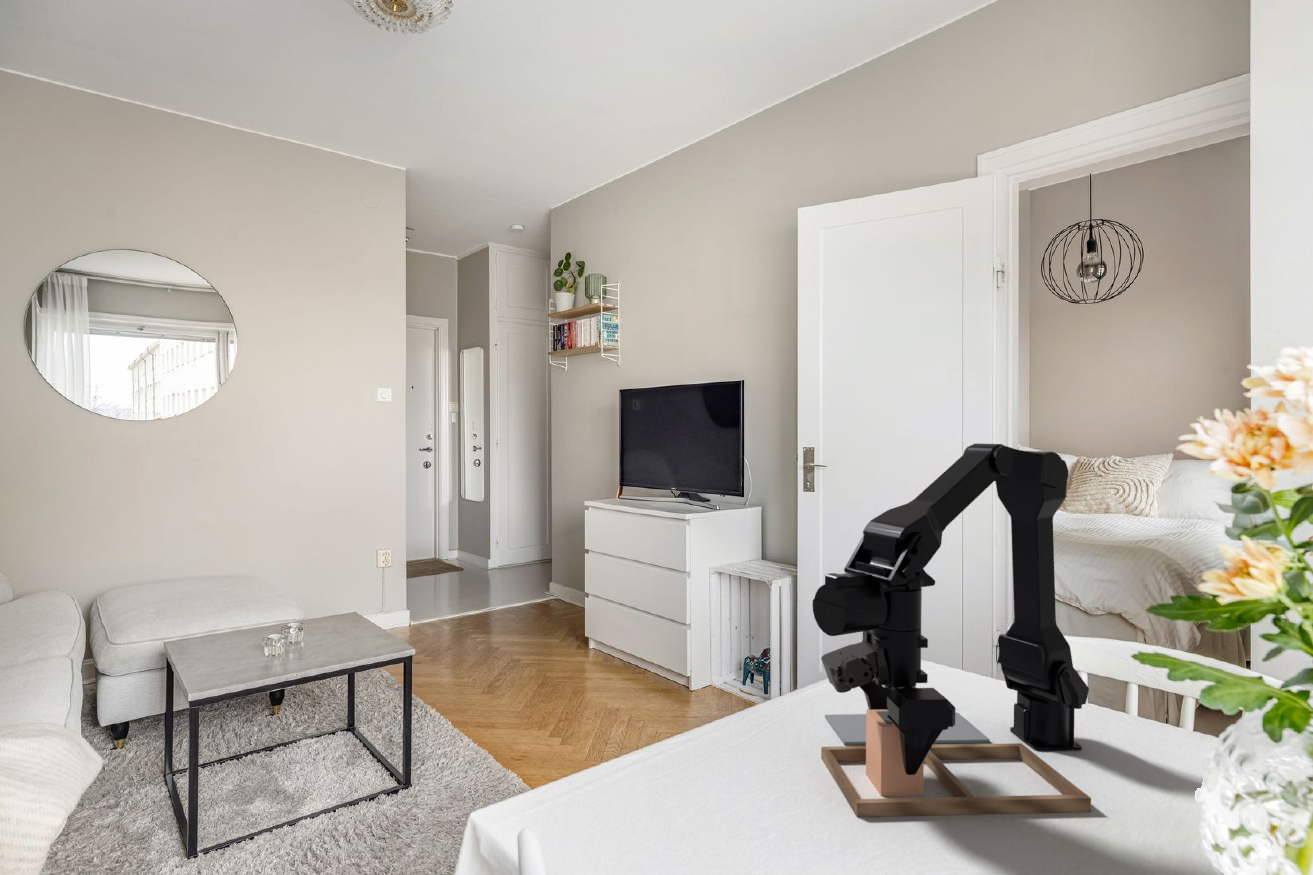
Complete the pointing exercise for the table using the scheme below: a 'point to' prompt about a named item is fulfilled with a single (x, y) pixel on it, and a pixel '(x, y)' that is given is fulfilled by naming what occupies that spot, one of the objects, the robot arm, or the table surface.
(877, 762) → the peach block
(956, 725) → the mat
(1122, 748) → the table surface
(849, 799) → the organizer
